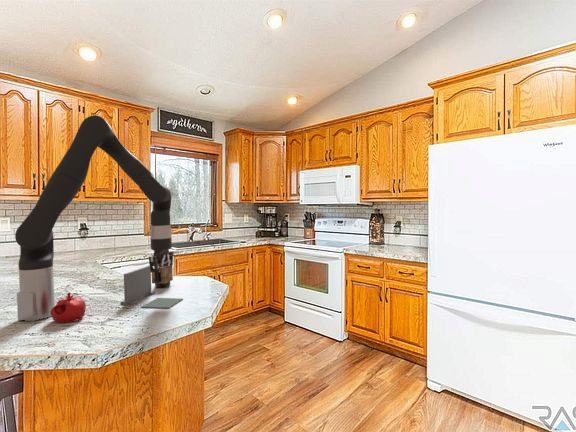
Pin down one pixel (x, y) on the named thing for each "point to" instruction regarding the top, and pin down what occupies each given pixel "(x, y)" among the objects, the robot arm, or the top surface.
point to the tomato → (68, 309)
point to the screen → (137, 285)
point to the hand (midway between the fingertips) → (162, 280)
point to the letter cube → (164, 275)
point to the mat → (162, 303)
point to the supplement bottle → (159, 285)
